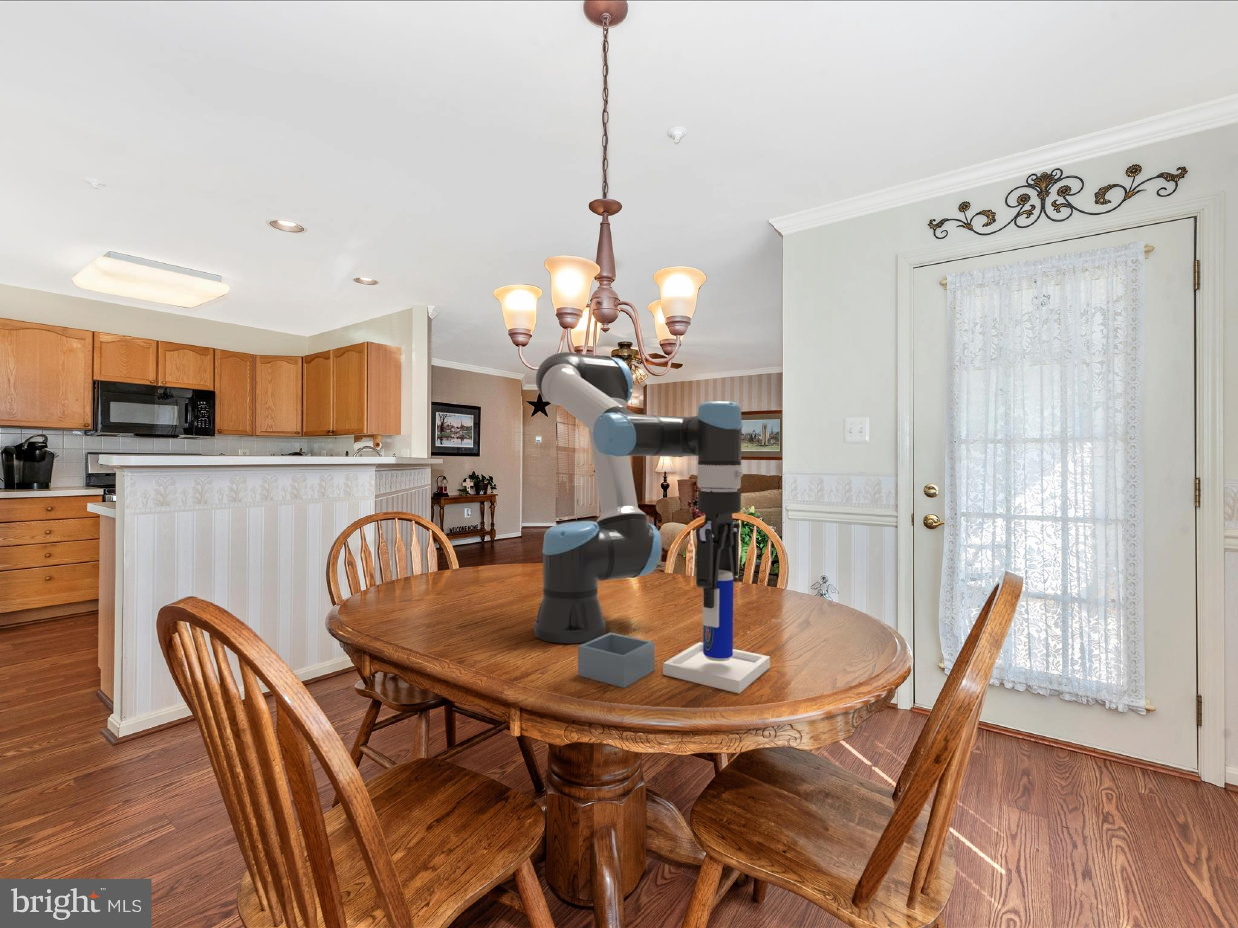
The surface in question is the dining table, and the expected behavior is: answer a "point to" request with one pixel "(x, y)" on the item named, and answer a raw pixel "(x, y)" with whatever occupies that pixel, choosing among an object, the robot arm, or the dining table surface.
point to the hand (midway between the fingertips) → (717, 621)
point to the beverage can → (721, 622)
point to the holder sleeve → (616, 659)
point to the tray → (717, 668)
